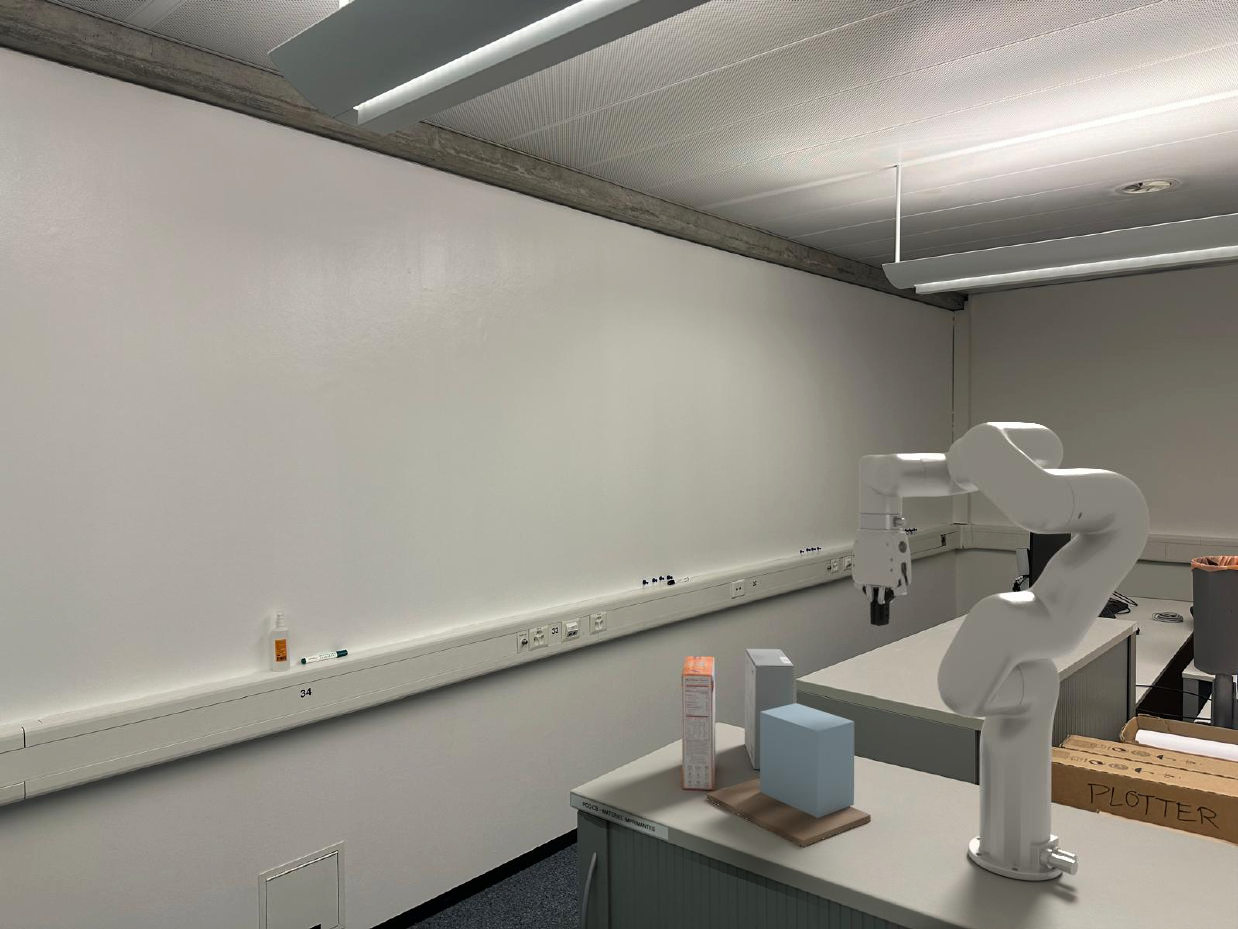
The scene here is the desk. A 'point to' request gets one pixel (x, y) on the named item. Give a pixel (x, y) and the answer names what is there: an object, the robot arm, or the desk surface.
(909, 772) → the desk surface
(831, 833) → the thin wooden board
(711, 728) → the cracker box
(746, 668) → the hard drive box
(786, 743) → the carton
